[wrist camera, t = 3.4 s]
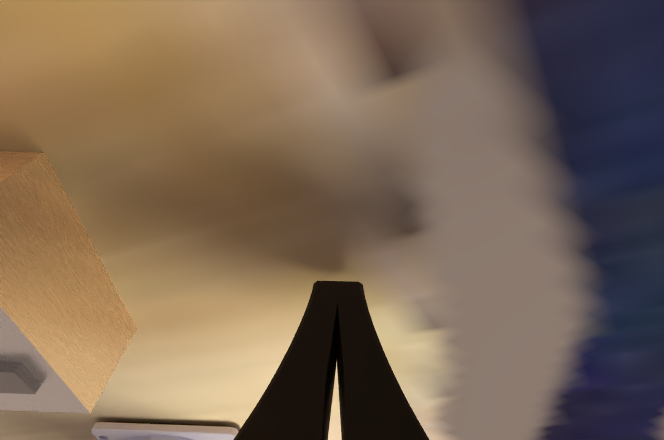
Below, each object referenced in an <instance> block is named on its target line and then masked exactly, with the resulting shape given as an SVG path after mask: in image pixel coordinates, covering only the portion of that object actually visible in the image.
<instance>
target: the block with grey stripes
mask: <svg viewBox="0 0 664 440" xmlns="http://www.w3.org/2000/svg"><path fill="white" fill-rule="evenodd" d="M136 329H137V328H136V327H135V325H134V323H133V321H132V319H131V317H130V315H129V313H128V311H127V309H126V308H125V306H124V304H123V302H122V300H121V298H120V296H119V294H118V292H117V290H116V289H115V287H114V285H113V283H112V281H111V279H110V277H109V275H108V273H107V271H106V270H105V268H104V266H103V264H102V262H101V260H100V258H99V256H98V254H97V252H96V251H95V249H94V247H93V245H92V243H91V241H90V239H89V237H88V235H87V233H86V232H85V230H84V228H83V226H82V224H81V222H80V220H79V218H78V216H77V214H76V213H75V211H74V209H73V207H72V205H71V203H70V201H69V199H68V197H67V195H66V194H65V192H64V190H63V188H62V186H61V184H60V182H59V180H58V178H57V176H56V175H55V173H54V171H53V169H52V167H51V165H50V163H49V161H48V159H47V157H46V156H45V154H44V152H0V410H9V411H36V412H62V413H89V414H90V413H91V412H92V410H93V408H94V406H95V404H96V402H97V401H98V399H99V397H100V395H101V393H102V392H103V390H104V388H105V386H106V384H107V382H108V381H109V379H110V377H111V375H112V373H113V371H114V370H115V368H116V366H117V364H118V362H119V360H120V359H121V357H122V355H123V353H124V351H125V349H126V348H127V346H128V344H129V342H130V340H131V339H132V337H133V335H134V333H135V331H136Z"/></svg>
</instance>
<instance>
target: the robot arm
mask: <svg viewBox="0 0 664 440" xmlns="http://www.w3.org/2000/svg"><path fill="white" fill-rule="evenodd" d="M336 362H337V369H338V385H339V401H340V417H341V432H342V440H429V438H428V437H427V435H426V433H425V431H424V430H423V428H422V426H421V425H420V423H419V421H418V419H417V418H416V416H415V414H414V412H413V410H412V409H411V407H410V405H409V403H408V401H407V399H406V397H405V395H404V393H403V392H402V390H401V388H400V386H399V384H398V382H397V379H396V377H395V375H394V373H393V371H392V369H391V367H390V365H389V362H388V360H387V358H386V356H385V353H384V351H383V348H382V346H381V343H380V341H379V338H378V336H377V333H376V331H375V328H374V325H373V322H372V319H371V316H370V313H369V310H368V307H367V303H366V299H365V295H364V290H363V285H362V284H361V283H360V282H344V281H317V282H315V283H314V285H313V289H312V293H311V296H310V299H309V302H308V305H307V308H306V311H305V313H304V316H303V318H302V321H301V323H300V325H299V327H298V329H297V332H296V334H295V336H294V338H293V340H292V343H291V345H290V347H289V349H288V351H287V353H286V354H285V356H284V358H283V360H282V362H281V364H280V366H279V368H278V369H277V371H276V373H275V375H274V377H273V379H272V380H271V382H270V384H269V385H268V387H267V389H266V390H265V392H264V394H263V395H262V397H261V399H260V400H259V402H258V403H257V405H256V407H255V408H254V410H253V411H252V413H251V414H250V416H249V417H248V419H247V420H246V422H245V423H244V425H243V426H242V428H241V429H240V431H238V430H237V429H236V428H233V427H219V426H192V425H165V424H139V423H112V422H97V423H95V424H94V426H93V428H92V430H91V432H92V434H93V435H94V436H95V437H96V438H97V439H98V440H328V431H329V422H330V414H331V405H332V396H333V388H334V379H335V371H336Z"/></svg>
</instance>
